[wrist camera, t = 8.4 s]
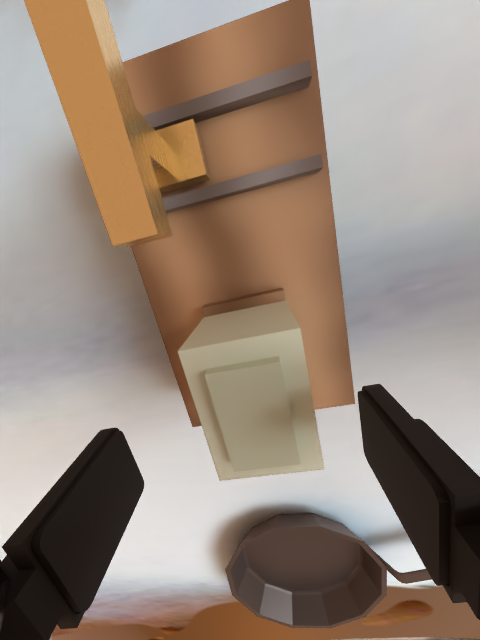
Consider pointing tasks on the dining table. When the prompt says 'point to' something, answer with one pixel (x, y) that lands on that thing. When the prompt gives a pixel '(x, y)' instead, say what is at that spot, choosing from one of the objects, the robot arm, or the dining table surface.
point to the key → (114, 122)
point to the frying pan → (309, 572)
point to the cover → (253, 392)
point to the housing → (247, 190)
